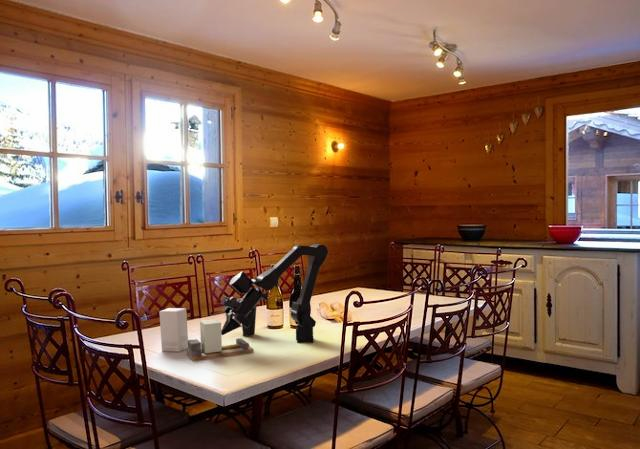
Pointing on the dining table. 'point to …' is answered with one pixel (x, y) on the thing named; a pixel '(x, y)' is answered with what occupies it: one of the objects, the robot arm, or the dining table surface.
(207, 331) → the tall pale green box
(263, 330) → the dining table surface
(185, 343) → the skincare box
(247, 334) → the drinking cup
